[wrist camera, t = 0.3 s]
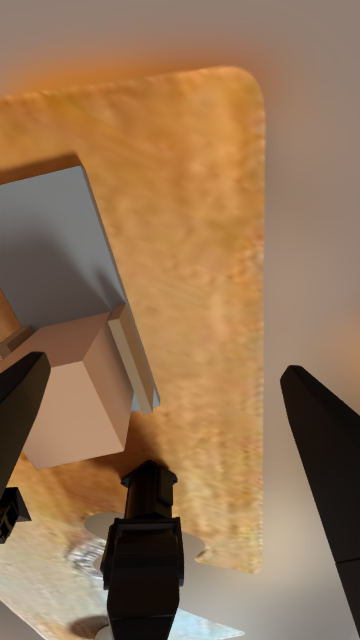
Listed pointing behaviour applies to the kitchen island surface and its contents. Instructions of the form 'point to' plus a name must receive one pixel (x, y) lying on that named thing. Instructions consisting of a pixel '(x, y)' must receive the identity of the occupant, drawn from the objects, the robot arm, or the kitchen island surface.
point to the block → (78, 393)
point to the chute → (65, 268)
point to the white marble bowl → (104, 634)
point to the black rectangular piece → (11, 512)
